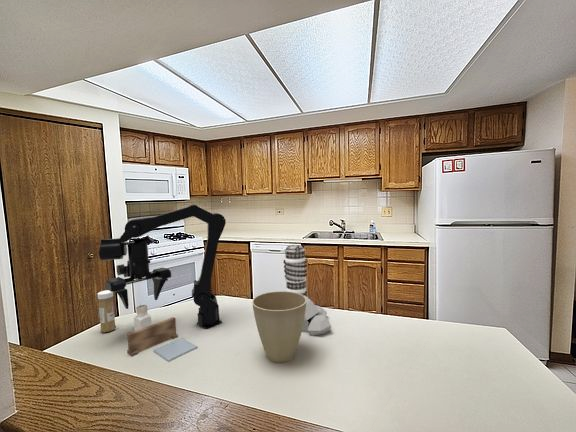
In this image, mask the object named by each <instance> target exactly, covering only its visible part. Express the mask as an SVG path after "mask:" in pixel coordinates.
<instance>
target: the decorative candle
mask: <svg viewBox="0 0 576 432" xmlns="http://www.w3.org/2000/svg"><path fill="white" fill-rule="evenodd" d="M305 251H306V249H305V248H304V247H303V245H300V244H290V245H287V247H286V248H285V249H284V252H285V257H284V259H283V264H284V265H283V268H284V273H285V274H284V278H285V279H284V281H285V282H286V287H285V291H287V292H295V293H299V294H301V295H303V296H307V297H308V291H307V284H306V281H308V280H307V276H308V274H307V272H308V270H307V269H306V268H307V267H308V264H307V263H308V260H306V252H305Z"/></svg>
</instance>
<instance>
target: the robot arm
mask: <svg viewBox="0 0 576 432" xmlns="http://www.w3.org/2000/svg"><path fill="white" fill-rule="evenodd" d="M192 217H193V218H196V219H198V220H200V221H202V222H204V223H206V224H207V240H206V245H205V251H204V256H203V260H202V265H201V269H200V275H199V278H198V280H195V279H194V280H193V288H192V289H191V297H192V298H193V302H194V304H195V305H196V306H198V312H197V322H196V325H198V326H200V327H201V328H204V329H207V330H208V329H210V328H213V327H215V326H217V325H219V324H222V323H223V320H221V319H220V308H219V304H218V300H217V296H216V295H215V294H214V293H212V275H213V270H214V264H215V260H216V254H217V249H218V246H219V241H220V238H221V236H222V234H223V231H224V228H225V227H226V225H227V224H226V218H225V216H224V215H223V214H220V213H218V212H213V213H212V212H210V211H208V210H207V209H204V208H202V207H200V206H198V204H190V205H189V206H186V207H183V208H182V207H181V208H179V209H176V210H172V211H168V212H165V213H162V214H158V215H154V216H148V217H138V218H134V219H131V220H128V222H126V224H125V226H124V232H123V234H121V236H120V237H118V238H102V239H100V245H99V251H98V254H99V258H100V261H103V262H104V261H113V260H122V259H124V257H125V256H127V254H128V260H127V261H126V265H125V264H118V265H116V274H117V277H113V278H108V279H107V280H106V281H105V282H104V287H105V288H104V289H106V290H109V291H111V292H113V293H115V294H117V295H118V296H119V298H120V300H121V302H122V304H123V306H124V307H125V309H126V310H129V305H130V303H129V295H128V293H129V292H128V289H127V288H126V286H128V285H131V284H136V283H139V282H142V281H147V280H151V279H152V282H153V297H154V298H153V299H154V300H155V301H157V300H159V296H160V294H161V291H162V289H163V287H164V285H165V284H166V282H167V281H168V280H169V278H172V271H171V269H169V268H166V267H158V268H154V269H153V270H152V272H151V271H150V264H151V259H149V247H148V244H153V243H154V241H155V239H153V238H151V237H150V236H149V235H148V234H147V233H150V232H152V231H154V230H155V229H157V228H159V227H163V226H166V225H169V224H172V223H177V222H179V221H183V220H185V219H188V218H192ZM146 234H147V235H146ZM143 235H146V236H145V237H142V236H143ZM139 237H140V238H139ZM132 238H133V239H134V241H130V240H131V239H132ZM120 276H123V278H122V277H120Z"/></svg>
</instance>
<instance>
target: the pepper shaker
mask: <svg viewBox="0 0 576 432" xmlns="http://www.w3.org/2000/svg"><path fill="white" fill-rule="evenodd" d="M135 311H136V316H135V317H134V318H133V323H134V331H137V330H139V329H142V328H145V327H148V326H150V325H152V316H151V315H150V314H149V313H148V305H147V304H140V305H138V306H137V307H136V310H135Z"/></svg>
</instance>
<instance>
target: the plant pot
mask: <svg viewBox="0 0 576 432" xmlns="http://www.w3.org/2000/svg"><path fill="white" fill-rule="evenodd" d="M251 301H252V302H251V304H252V310H253V316H254V320H255V325H256V328H257V333H258V336H259V338H260V341H261V345H262V347H263V350H264V353H265V354H266V357H267V359H268V360H269V361H271V362H275V363H285V362H289V361H290V360H292V359H293V358H294V357H295V354H296V352H297V349H298V345H299V343H300V339H301V335H302V332H303V331H302V328H303V323H304V317H305V310H306V302H307V300H306V298H305V297H304V296H303V295H301V294H299V293H295V292H287V291H286V290H285V291H284V290H281V291H279V290H277V291H268V292H264V293H261V294H259V295H256V296H255V297H253V299H252V300H251Z"/></svg>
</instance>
